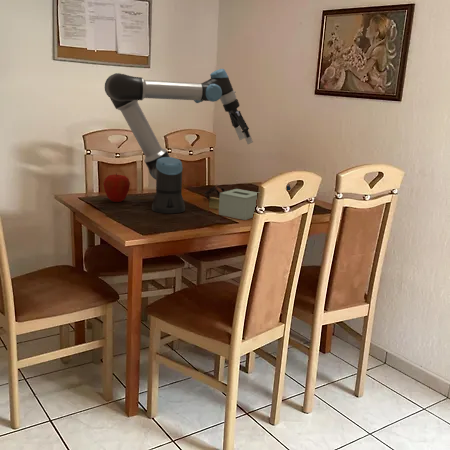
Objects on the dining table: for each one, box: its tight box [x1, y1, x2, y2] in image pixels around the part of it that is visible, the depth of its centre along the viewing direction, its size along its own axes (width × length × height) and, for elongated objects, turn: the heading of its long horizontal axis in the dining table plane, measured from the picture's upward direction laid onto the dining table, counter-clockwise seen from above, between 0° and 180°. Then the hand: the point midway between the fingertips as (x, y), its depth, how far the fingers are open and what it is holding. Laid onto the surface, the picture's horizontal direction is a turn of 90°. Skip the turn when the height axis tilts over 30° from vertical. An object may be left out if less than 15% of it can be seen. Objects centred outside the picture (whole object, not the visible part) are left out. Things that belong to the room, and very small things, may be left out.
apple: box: [103, 172, 131, 203], centre depth 254 cm, size 12×12×14 cm
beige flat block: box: [208, 196, 219, 211], centre depth 251 cm, size 2×6×5 cm, turn 56°
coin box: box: [218, 188, 259, 221], centre depth 241 cm, size 14×14×10 cm
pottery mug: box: [204, 185, 226, 199], centre depth 270 cm, size 12×10×8 cm
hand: (246, 141), depth 262 cm, fingers open, 13 cm apart
